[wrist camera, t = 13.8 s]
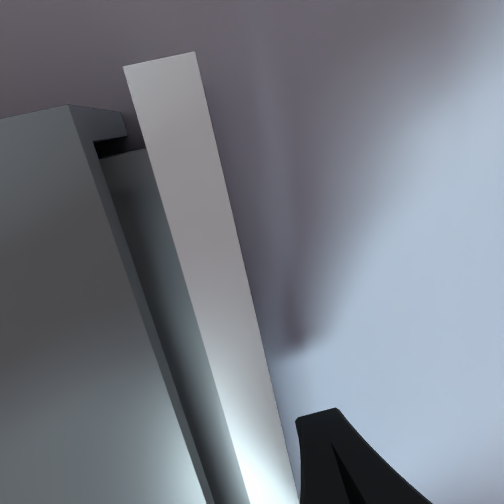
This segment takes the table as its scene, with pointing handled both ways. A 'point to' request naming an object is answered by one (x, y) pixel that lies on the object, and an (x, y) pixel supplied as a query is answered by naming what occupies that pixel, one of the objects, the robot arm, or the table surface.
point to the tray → (199, 283)
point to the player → (79, 332)
